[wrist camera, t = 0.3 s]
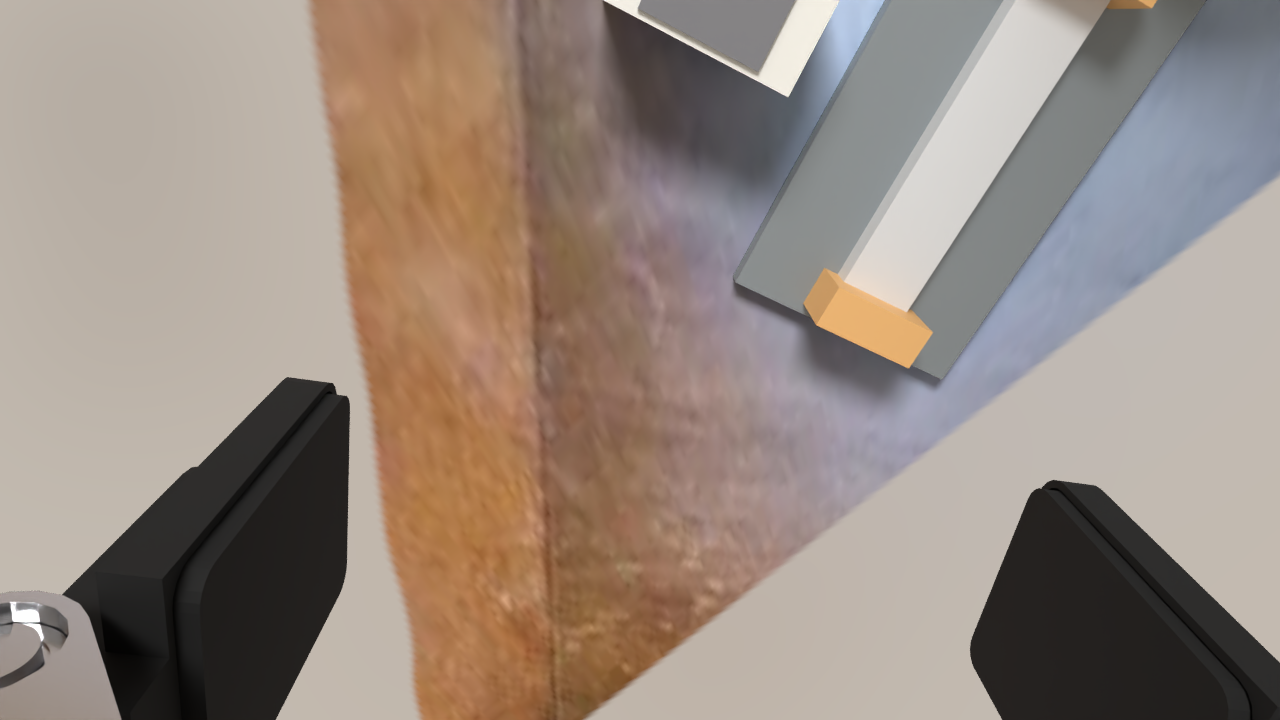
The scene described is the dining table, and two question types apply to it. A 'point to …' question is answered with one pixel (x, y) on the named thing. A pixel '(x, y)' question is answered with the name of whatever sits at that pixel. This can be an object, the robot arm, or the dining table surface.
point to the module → (743, 32)
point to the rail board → (950, 162)
